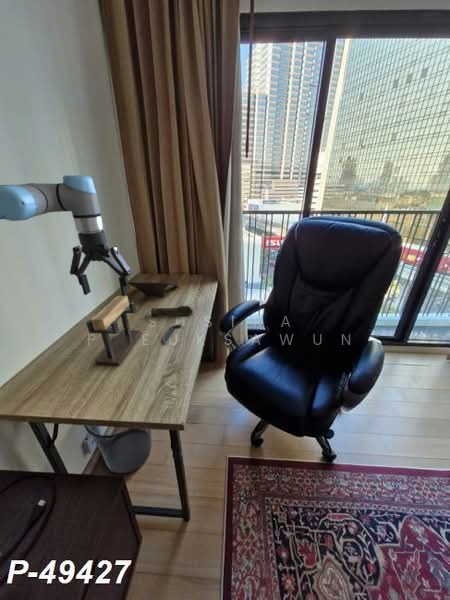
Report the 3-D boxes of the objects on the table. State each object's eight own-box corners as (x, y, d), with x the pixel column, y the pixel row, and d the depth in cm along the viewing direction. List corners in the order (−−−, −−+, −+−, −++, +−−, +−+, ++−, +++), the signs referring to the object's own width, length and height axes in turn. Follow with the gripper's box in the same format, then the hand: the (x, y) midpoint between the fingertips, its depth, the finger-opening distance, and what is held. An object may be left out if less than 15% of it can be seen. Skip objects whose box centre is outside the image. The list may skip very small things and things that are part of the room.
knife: (173, 324, 110) (172, 323, 110) (181, 325, 110) (181, 324, 109) (159, 343, 98) (159, 342, 98) (169, 344, 97) (168, 343, 97)
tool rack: (94, 364, 88) (82, 326, 81) (120, 332, 106) (112, 298, 99) (121, 365, 87) (110, 327, 80) (142, 333, 105) (136, 299, 98)
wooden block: (94, 332, 83) (91, 319, 81) (120, 306, 99) (117, 295, 97) (106, 332, 83) (102, 319, 80) (129, 307, 99) (127, 295, 96)
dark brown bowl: (182, 297, 149) (182, 282, 149) (169, 297, 126) (170, 279, 126) (144, 296, 151) (145, 281, 151) (126, 295, 128) (126, 278, 128)
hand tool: (151, 318, 117) (149, 309, 114) (153, 313, 120) (152, 305, 118) (191, 317, 116) (190, 309, 114) (192, 313, 120) (192, 304, 118)
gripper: (135, 229, 79) (145, 290, 89) (61, 228, 81) (78, 288, 91) (124, 234, 73) (136, 299, 82) (44, 233, 75) (65, 297, 84)
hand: (106, 293), depth 86 cm, fingers open, 13 cm apart
